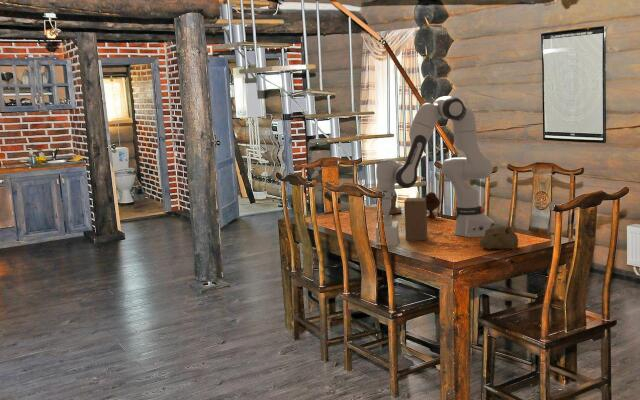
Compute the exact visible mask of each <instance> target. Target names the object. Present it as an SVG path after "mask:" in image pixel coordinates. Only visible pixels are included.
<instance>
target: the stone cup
mask: <svg viewBox="0 0 640 400" xmlns="http://www.w3.org/2000/svg"><path fill="white" fill-rule="evenodd" d="M392 197H393V198H392V199H391V208H390V211H389V215H392V216H393V215H398V214H402V207H398V206H397V199H398V196H397V192H396V190H395V195H394V196H392Z"/></svg>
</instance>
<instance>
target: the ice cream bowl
mask: <svg viewBox="0 0 640 400" xmlns="http://www.w3.org/2000/svg"><path fill="white" fill-rule="evenodd" d="M422 198H426V211H428V212H429V214H428V215H427V219H436V218H437V216H436V215H434V214H433V212H434V211H435V210H436V209H438V208H439V207H440V205H441V201H440V199H439V198H438V197H437V194H436V193H435V192H432V191H429V192H427V194H425V195H424V196H422Z"/></svg>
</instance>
